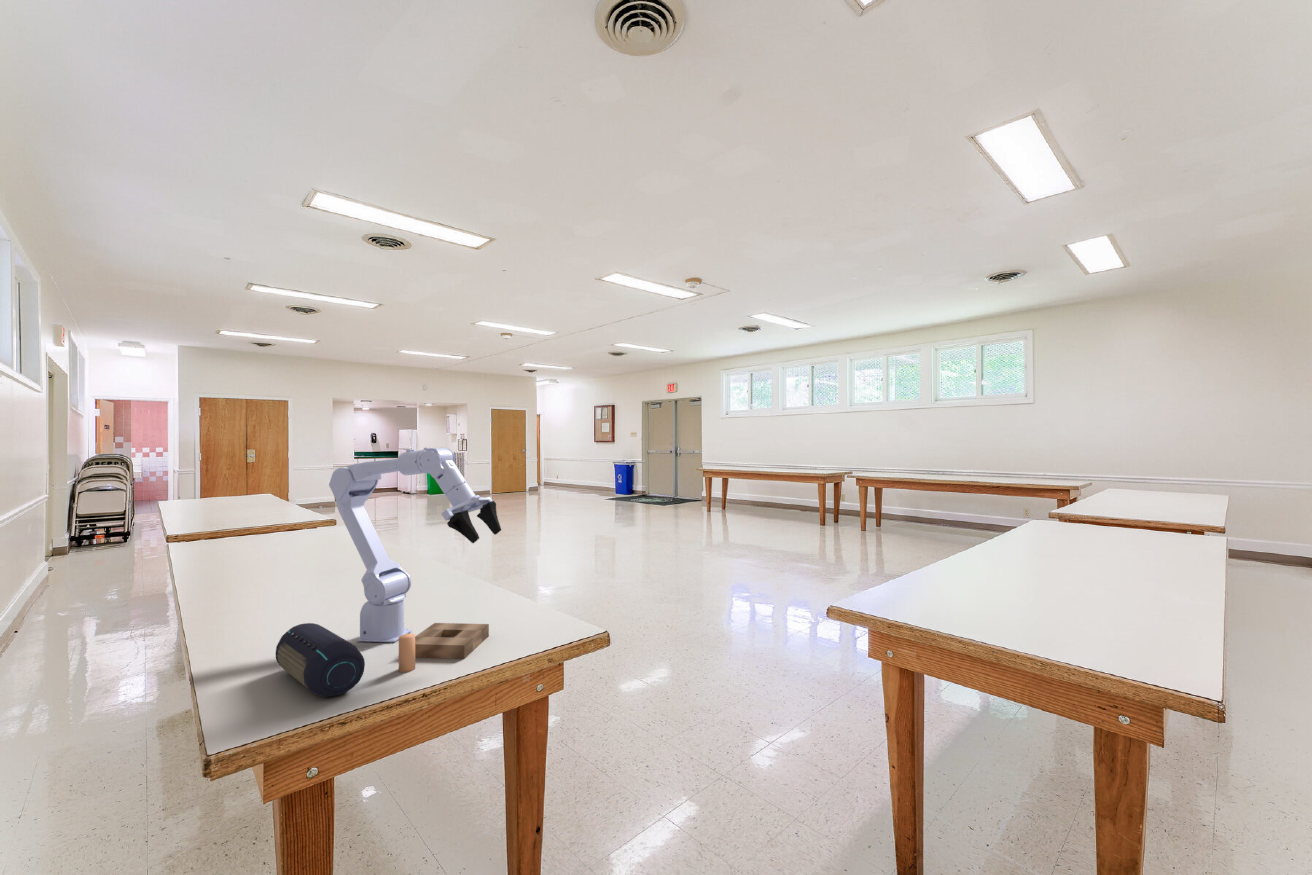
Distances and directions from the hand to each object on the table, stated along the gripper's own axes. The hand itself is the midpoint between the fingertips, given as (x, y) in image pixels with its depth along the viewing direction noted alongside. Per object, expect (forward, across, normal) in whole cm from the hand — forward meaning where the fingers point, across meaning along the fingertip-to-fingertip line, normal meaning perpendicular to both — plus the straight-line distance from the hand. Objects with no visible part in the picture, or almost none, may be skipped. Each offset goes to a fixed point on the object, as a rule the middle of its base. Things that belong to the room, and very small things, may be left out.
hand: (487, 536), depth 126 cm
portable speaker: (+7, -30, +30) cm, 43 cm away
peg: (+15, -18, +21) cm, 32 cm away
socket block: (+15, -5, +23) cm, 28 cm away
